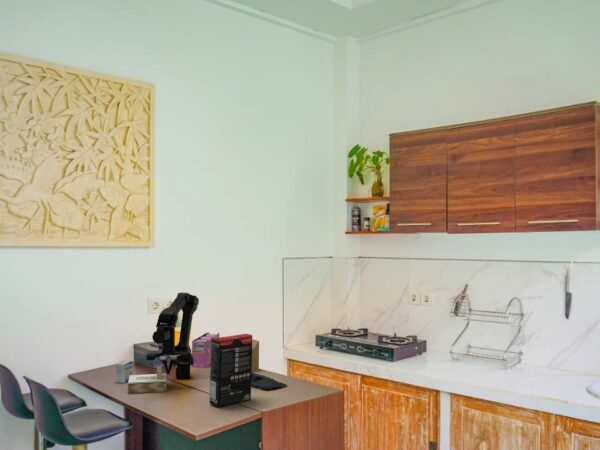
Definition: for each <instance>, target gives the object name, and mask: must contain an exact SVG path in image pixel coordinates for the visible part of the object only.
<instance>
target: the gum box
mask: <svg viewBox="0 0 600 450" xmlns="http://www.w3.org/2000/svg"><path fill="white" fill-rule="evenodd" d="M212 338H220V333H219V332H217V334H216V333H210V332H205V333H203V334H202V335H200V336H199V337H197V338H195V339H193V340H191V354H192V356H193V358H194V364H193V365H191V368H201V369H202V368H203V369H206V368H207V367H209V366H211V339H212Z"/></svg>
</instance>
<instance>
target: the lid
mask: <svg viewBox="0 0 600 450" xmlns="http://www.w3.org/2000/svg"><path fill="white" fill-rule="evenodd" d="M162 371H163V367H162V366H157V367H156V373H154V374H153V373H151V374H150V373H149V374H133V375H130V377H129V381H128V383H127V385H128V384H136V383H154V382H166V383H167V372H166V373H163V372H162Z"/></svg>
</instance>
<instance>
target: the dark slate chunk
mask: <svg viewBox="0 0 600 450" xmlns="http://www.w3.org/2000/svg"><path fill="white" fill-rule="evenodd" d="M286 385H287V383H286V384H285V383H284V382H280V381H277V380H275V379H274V378H271V377H270V376H266V375H264V374H263V375H262V374H259V373H255V372H252V373H251V387H252V386H253V387H252V388H255V389H259V388H261V389H260V390H263V389H264V390H265V389H268V390H272V389H273V388H275V389H281V388H280V387H283V388H285V387H284V386H286ZM286 387H287V386H286ZM273 390H274V389H273Z"/></svg>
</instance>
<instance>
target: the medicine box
mask: <svg viewBox="0 0 600 450" xmlns="http://www.w3.org/2000/svg"><path fill="white" fill-rule="evenodd" d="M133 368H134V367H133V360H128V359H127V360H123V361H120V362H117V363H116V364H115V383H116V384H117V383H118V384H126V383H127V382H128V381H129V377H130V375H134V374H133V372H134V371H133Z"/></svg>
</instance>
